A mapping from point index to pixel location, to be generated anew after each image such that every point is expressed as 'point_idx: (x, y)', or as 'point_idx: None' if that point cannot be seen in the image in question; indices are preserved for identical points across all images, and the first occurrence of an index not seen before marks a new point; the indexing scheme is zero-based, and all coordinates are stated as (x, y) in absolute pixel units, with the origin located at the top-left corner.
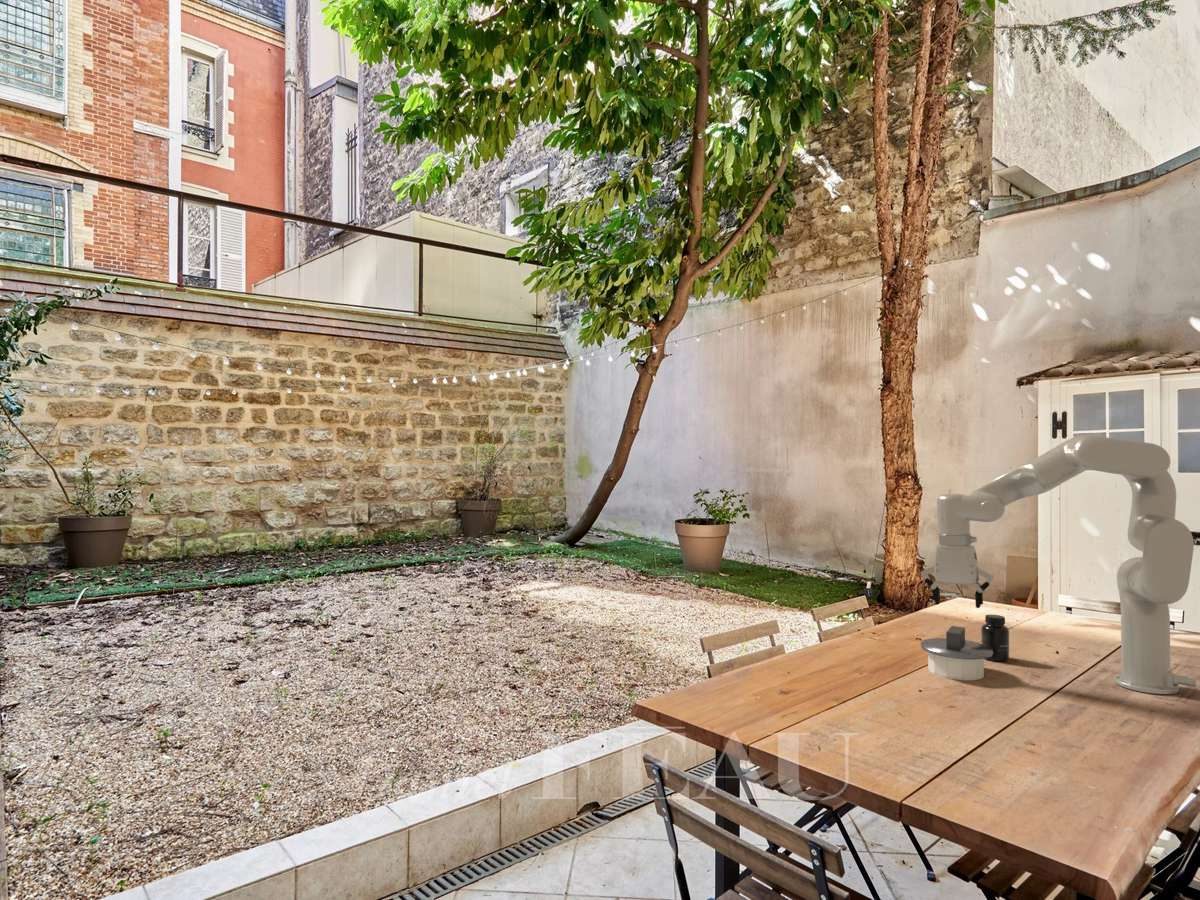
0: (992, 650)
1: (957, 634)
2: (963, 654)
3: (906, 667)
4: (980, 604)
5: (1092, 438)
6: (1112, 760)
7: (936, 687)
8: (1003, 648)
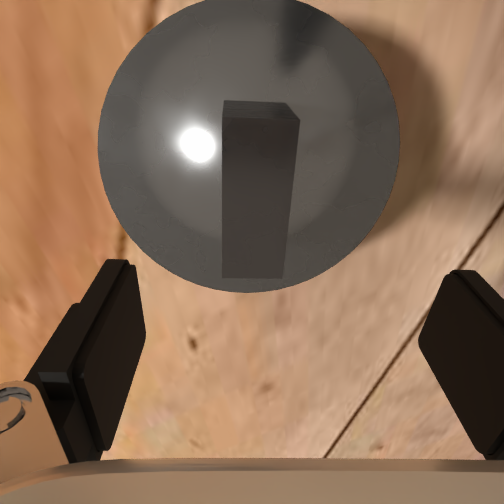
0: (398, 156)
1: (271, 275)
2: (287, 269)
3: (93, 182)
4: (475, 276)
5: None
6: (468, 445)
7: (220, 309)
8: None
